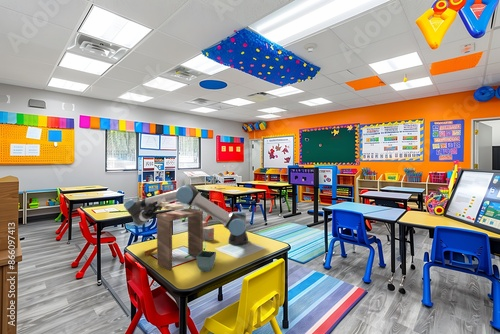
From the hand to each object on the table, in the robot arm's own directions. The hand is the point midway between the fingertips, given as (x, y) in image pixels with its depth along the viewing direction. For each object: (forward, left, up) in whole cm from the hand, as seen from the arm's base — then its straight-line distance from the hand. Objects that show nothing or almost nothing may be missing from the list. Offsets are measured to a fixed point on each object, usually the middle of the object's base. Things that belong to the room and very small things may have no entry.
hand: (162, 199), depth 148 cm
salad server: (-2, +2, -4) cm, 5 cm away
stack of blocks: (-20, -42, -38) cm, 60 cm away
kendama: (+8, -16, -38) cm, 42 cm away
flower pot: (-28, +17, -38) cm, 50 cm away
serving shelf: (-12, +3, -38) cm, 40 cm away
